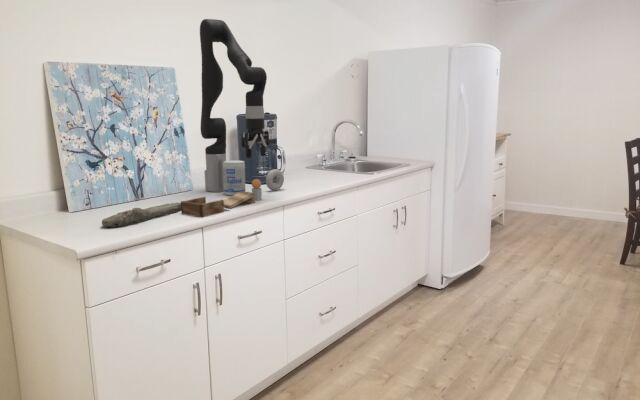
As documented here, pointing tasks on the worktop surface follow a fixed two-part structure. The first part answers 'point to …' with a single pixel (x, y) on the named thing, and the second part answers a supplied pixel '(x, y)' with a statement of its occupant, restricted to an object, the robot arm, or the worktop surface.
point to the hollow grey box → (257, 193)
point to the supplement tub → (233, 177)
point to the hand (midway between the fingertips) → (256, 156)
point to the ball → (256, 183)
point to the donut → (278, 183)
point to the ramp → (239, 199)
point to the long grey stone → (140, 215)
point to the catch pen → (201, 207)
